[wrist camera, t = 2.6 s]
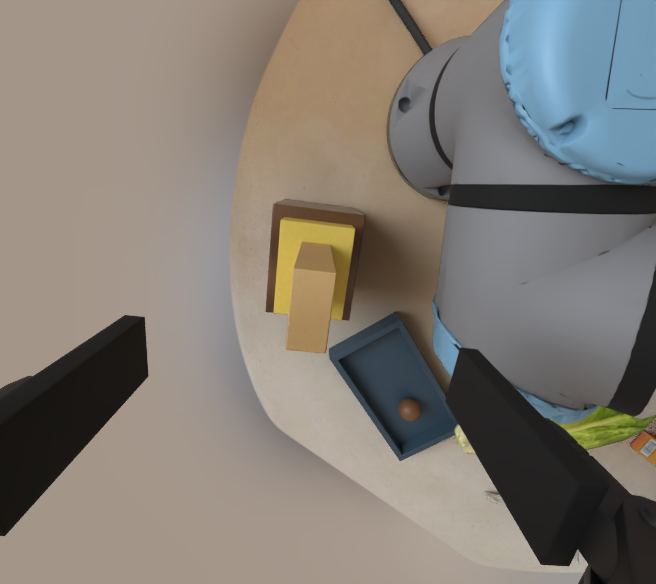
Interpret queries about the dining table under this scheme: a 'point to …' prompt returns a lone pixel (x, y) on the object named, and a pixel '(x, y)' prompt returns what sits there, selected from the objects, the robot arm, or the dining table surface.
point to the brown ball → (409, 409)
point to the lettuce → (589, 429)
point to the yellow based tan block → (312, 279)
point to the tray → (394, 385)
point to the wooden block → (316, 214)
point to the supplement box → (646, 446)
